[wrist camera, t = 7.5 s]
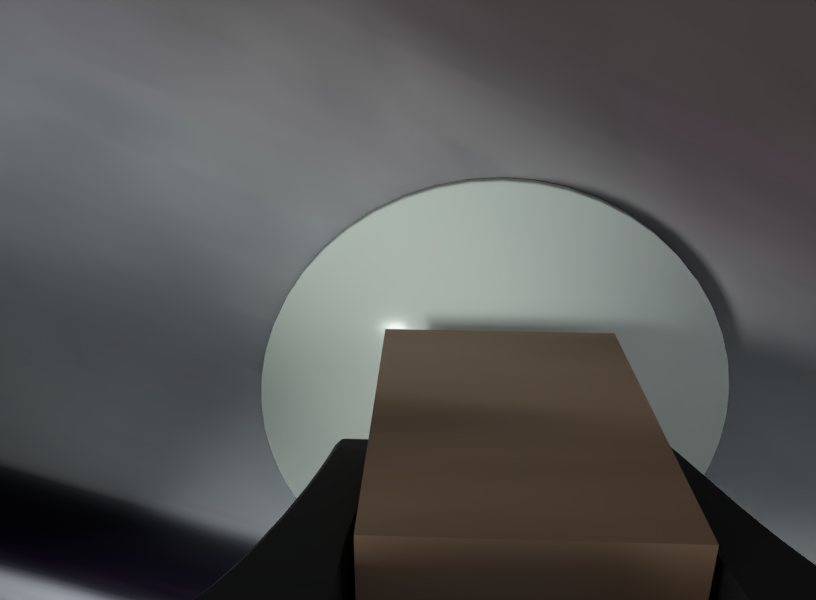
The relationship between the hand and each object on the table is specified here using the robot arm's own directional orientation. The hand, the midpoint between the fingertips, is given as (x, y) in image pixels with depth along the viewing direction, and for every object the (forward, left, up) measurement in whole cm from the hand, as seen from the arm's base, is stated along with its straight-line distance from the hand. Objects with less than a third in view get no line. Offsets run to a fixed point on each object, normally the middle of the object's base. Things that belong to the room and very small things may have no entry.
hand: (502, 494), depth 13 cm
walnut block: (0, 0, -2) cm, 2 cm away
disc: (0, 0, -3) cm, 3 cm away
